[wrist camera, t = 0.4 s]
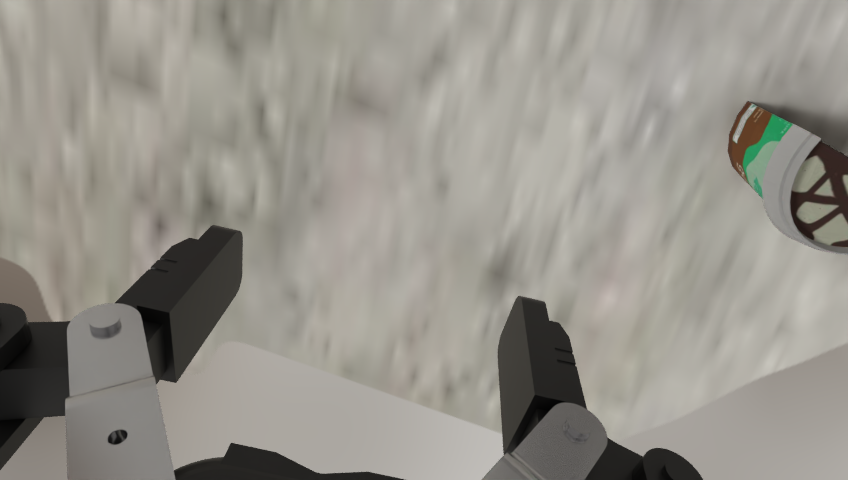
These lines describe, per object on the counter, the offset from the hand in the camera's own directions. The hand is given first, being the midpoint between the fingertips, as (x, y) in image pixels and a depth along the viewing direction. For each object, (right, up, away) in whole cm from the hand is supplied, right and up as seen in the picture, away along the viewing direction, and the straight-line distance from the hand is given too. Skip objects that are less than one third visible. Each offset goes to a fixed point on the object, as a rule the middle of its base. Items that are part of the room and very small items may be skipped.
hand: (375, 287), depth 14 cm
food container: (+29, +8, +26) cm, 40 cm away
